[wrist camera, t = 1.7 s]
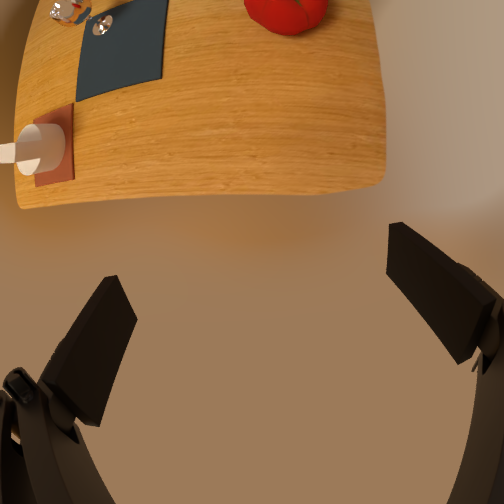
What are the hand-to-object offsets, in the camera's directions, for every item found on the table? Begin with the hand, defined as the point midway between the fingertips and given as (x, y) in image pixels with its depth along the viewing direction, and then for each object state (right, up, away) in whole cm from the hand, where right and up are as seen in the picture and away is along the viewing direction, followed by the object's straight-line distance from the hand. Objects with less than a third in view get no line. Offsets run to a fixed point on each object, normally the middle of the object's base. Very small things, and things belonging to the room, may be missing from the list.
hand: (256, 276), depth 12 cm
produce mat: (-37, +20, +25) cm, 49 cm away
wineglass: (-26, +40, +16) cm, 50 cm away
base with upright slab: (-37, +20, +24) cm, 49 cm away
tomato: (+4, +35, +15) cm, 38 cm away
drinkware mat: (-22, +35, +17) cm, 45 cm away
